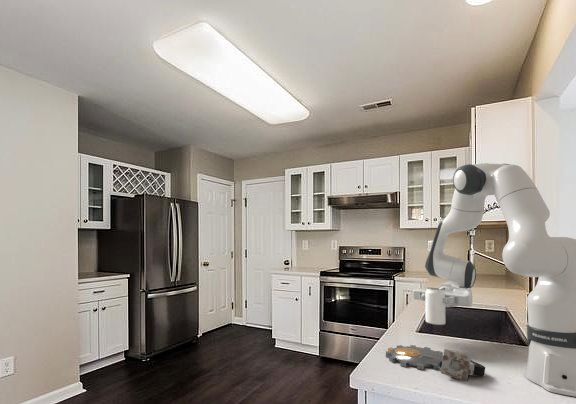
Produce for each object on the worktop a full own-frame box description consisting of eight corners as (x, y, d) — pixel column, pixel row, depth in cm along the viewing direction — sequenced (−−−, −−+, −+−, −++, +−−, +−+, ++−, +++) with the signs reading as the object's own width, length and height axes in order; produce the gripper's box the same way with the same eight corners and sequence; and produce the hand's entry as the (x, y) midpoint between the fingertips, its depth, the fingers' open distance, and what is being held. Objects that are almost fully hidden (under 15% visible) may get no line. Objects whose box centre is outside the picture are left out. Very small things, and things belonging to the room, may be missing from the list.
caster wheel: (480, 380, 101) (486, 389, 92) (438, 366, 105) (440, 373, 96) (483, 356, 102) (490, 363, 93) (442, 344, 106) (444, 348, 97)
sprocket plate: (457, 357, 112) (457, 353, 112) (435, 375, 98) (435, 370, 98) (401, 345, 125) (401, 340, 125) (375, 358, 111) (374, 354, 111)
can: (434, 321, 126) (434, 287, 128) (449, 324, 120) (449, 289, 122) (421, 321, 123) (421, 287, 125) (436, 325, 118) (435, 289, 119)
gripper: (420, 283, 140) (405, 287, 130) (475, 288, 126) (463, 293, 116) (420, 299, 139) (405, 304, 129) (476, 306, 125) (464, 313, 115)
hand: (433, 299), depth 122 cm, fingers closed on can, 6 cm apart
